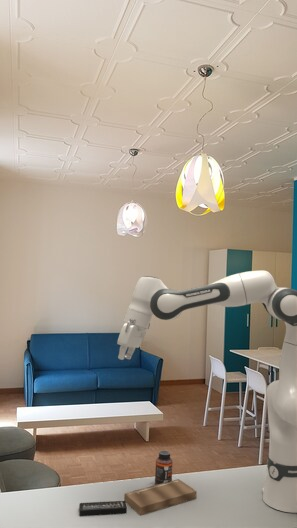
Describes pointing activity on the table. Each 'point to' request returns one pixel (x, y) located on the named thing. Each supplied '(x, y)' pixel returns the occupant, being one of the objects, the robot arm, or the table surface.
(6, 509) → the table surface
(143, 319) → the robot arm
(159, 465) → the supplement bottle
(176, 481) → the walnut board
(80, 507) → the multiport hub
